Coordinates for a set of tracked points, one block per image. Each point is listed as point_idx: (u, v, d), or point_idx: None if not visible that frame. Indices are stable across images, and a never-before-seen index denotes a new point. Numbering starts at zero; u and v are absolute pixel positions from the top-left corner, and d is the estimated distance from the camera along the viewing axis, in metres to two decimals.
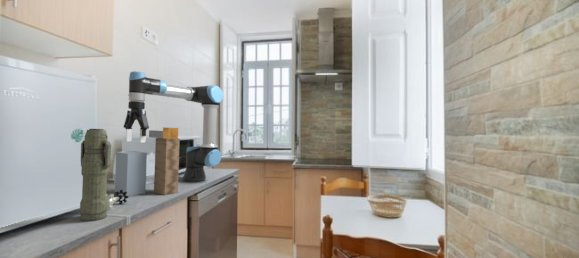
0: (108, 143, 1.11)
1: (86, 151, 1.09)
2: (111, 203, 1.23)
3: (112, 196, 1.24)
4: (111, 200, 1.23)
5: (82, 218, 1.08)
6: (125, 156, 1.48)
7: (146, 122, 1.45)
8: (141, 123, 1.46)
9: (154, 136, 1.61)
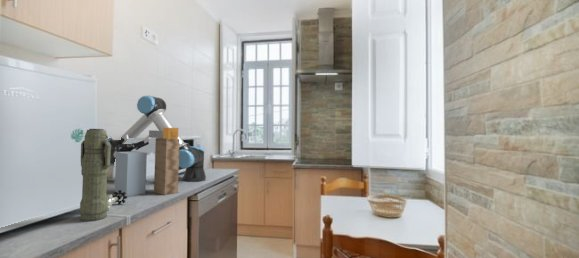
0: (108, 143, 1.11)
1: (86, 151, 1.09)
2: (110, 204, 1.22)
3: (111, 196, 1.23)
4: (110, 200, 1.22)
5: (82, 218, 1.08)
6: (125, 156, 1.48)
7: (115, 144, 1.71)
8: (120, 145, 1.73)
9: (154, 136, 1.61)
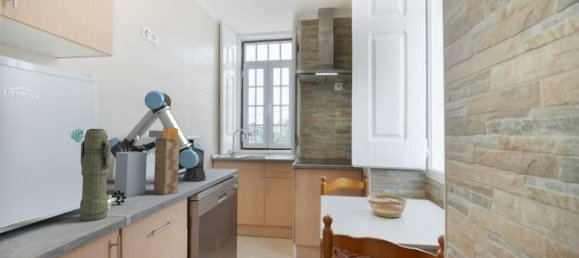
0: (108, 143, 1.11)
1: (86, 151, 1.09)
2: (109, 204, 1.21)
3: (110, 197, 1.22)
4: (109, 201, 1.22)
5: (82, 218, 1.08)
6: (125, 156, 1.48)
7: (125, 145, 1.64)
8: (131, 146, 1.65)
9: (154, 136, 1.61)
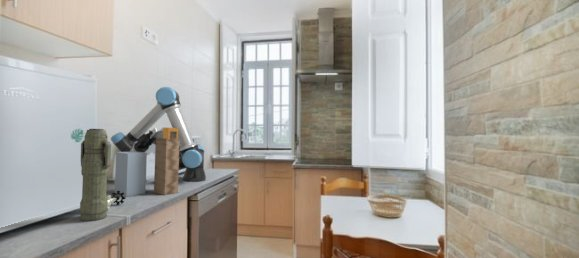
0: (108, 143, 1.11)
1: (86, 151, 1.09)
2: (108, 204, 1.21)
3: (109, 197, 1.22)
4: (108, 201, 1.21)
5: (82, 218, 1.08)
6: (125, 156, 1.48)
7: (141, 137, 1.62)
8: (145, 138, 1.64)
9: (154, 136, 1.61)
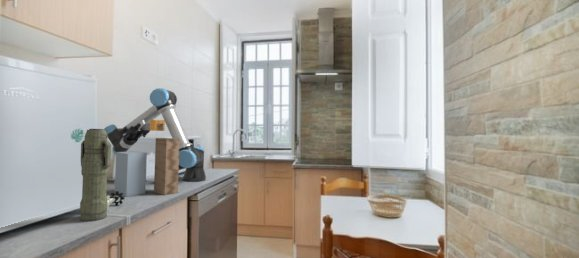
0: (108, 143, 1.11)
1: (86, 151, 1.09)
2: (107, 205, 1.20)
3: (108, 197, 1.21)
4: None
5: (82, 218, 1.08)
6: (125, 156, 1.48)
7: (129, 129, 1.68)
8: (134, 131, 1.70)
9: (142, 128, 1.68)
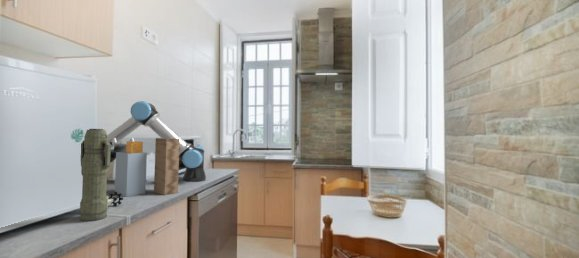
0: (108, 143, 1.11)
1: (86, 151, 1.09)
2: None
3: (107, 198, 1.20)
4: None
5: (82, 218, 1.08)
6: (125, 156, 1.48)
7: None
8: None
9: (119, 150, 1.57)
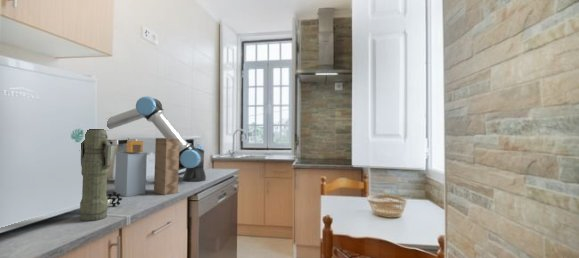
0: (108, 143, 1.11)
1: (86, 151, 1.09)
2: None
3: None
4: None
5: (82, 218, 1.08)
6: (125, 156, 1.48)
7: None
8: None
9: (121, 150, 1.57)
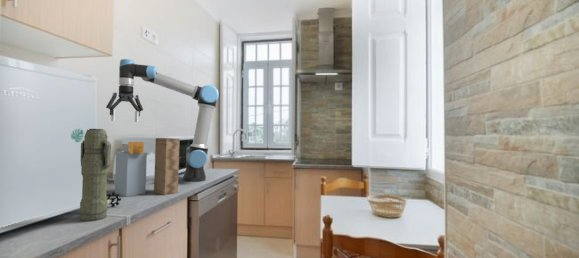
0: (108, 143, 1.11)
1: (86, 151, 1.09)
2: None
3: None
4: None
5: (82, 218, 1.08)
6: (125, 156, 1.48)
7: (110, 102, 1.62)
8: (113, 104, 1.64)
9: (124, 150, 1.57)
